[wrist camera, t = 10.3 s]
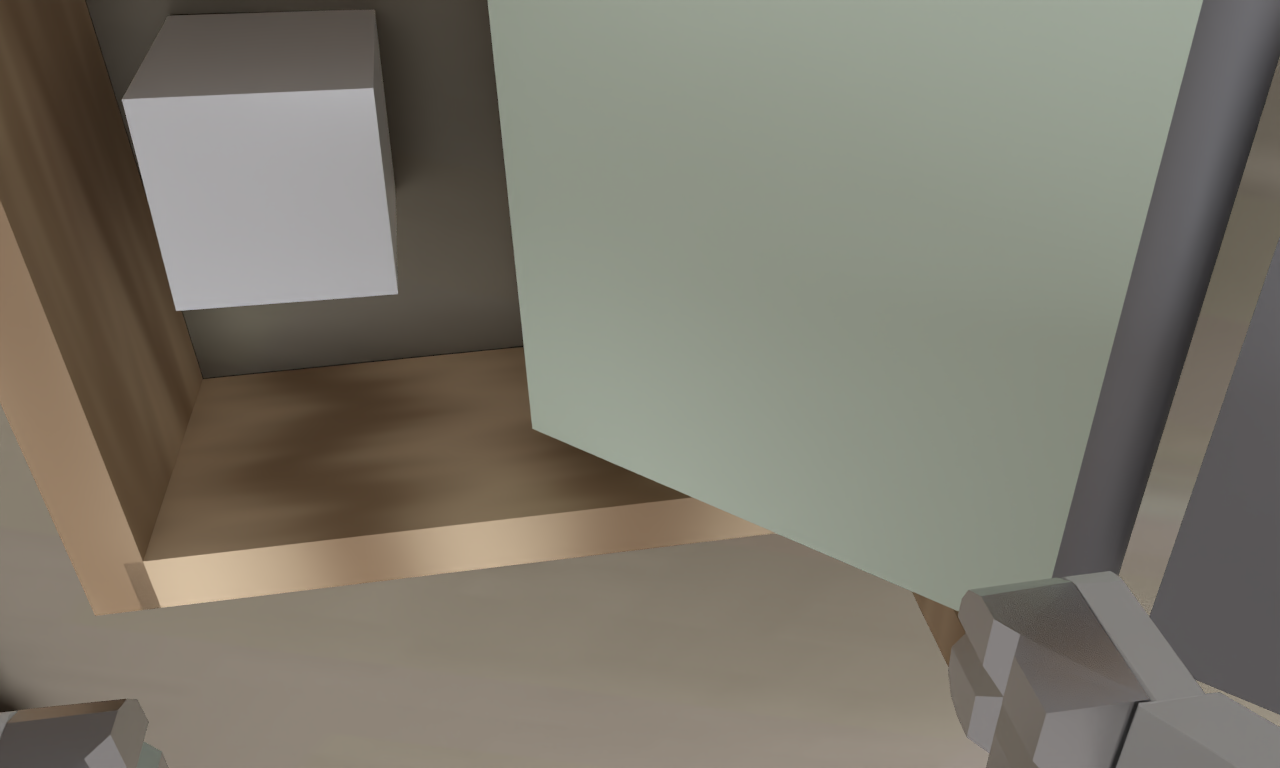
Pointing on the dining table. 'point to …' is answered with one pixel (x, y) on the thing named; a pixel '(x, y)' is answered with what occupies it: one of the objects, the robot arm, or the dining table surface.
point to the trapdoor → (906, 279)
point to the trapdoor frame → (255, 402)
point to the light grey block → (267, 157)
